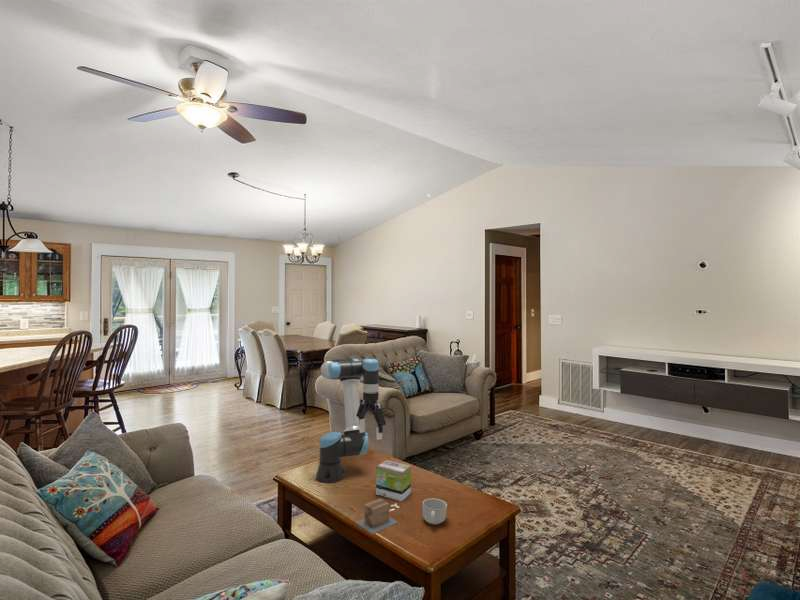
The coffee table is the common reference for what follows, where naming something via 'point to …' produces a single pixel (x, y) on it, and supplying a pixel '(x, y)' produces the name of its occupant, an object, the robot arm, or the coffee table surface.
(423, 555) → the coffee table surface
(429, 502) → the teacup
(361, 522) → the coaster
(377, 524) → the walnut block
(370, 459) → the coffee table surface
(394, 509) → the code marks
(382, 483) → the tea box
